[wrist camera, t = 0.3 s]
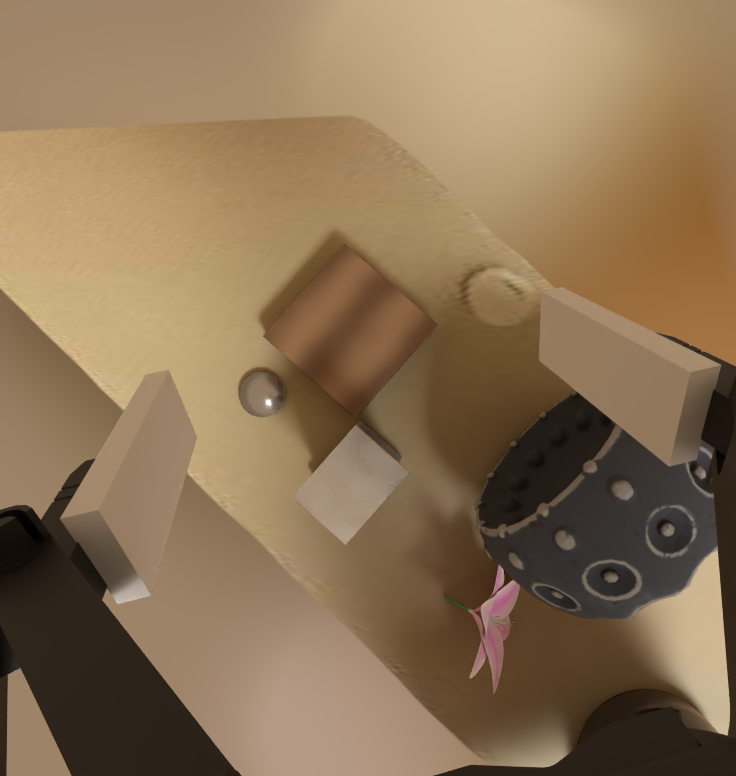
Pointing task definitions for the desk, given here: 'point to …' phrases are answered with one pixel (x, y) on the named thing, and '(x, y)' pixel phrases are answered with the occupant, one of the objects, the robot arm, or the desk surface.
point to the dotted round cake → (595, 515)
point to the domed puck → (262, 394)
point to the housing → (352, 482)
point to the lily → (494, 625)
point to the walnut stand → (350, 330)
